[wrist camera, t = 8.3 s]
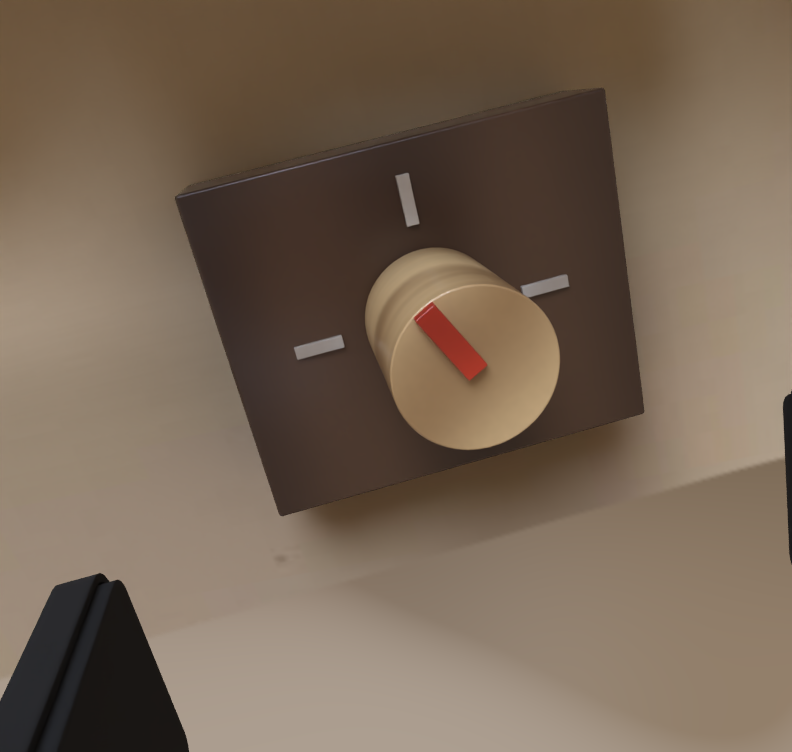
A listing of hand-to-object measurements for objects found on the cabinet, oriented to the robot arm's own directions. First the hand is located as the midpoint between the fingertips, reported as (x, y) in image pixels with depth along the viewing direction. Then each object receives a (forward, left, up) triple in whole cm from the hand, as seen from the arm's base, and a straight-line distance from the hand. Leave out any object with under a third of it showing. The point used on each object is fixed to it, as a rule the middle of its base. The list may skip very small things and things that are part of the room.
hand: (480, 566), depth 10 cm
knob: (+1, -2, -12) cm, 12 cm away
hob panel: (+1, -2, -15) cm, 15 cm away
